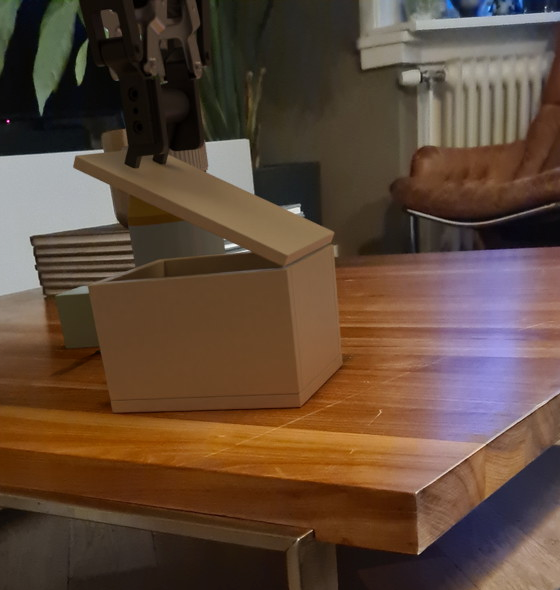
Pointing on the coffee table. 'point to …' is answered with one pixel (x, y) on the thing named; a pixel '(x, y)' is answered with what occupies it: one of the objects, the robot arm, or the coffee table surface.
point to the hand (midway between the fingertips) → (168, 151)
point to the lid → (206, 196)
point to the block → (77, 318)
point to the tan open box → (218, 332)
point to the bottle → (169, 225)
